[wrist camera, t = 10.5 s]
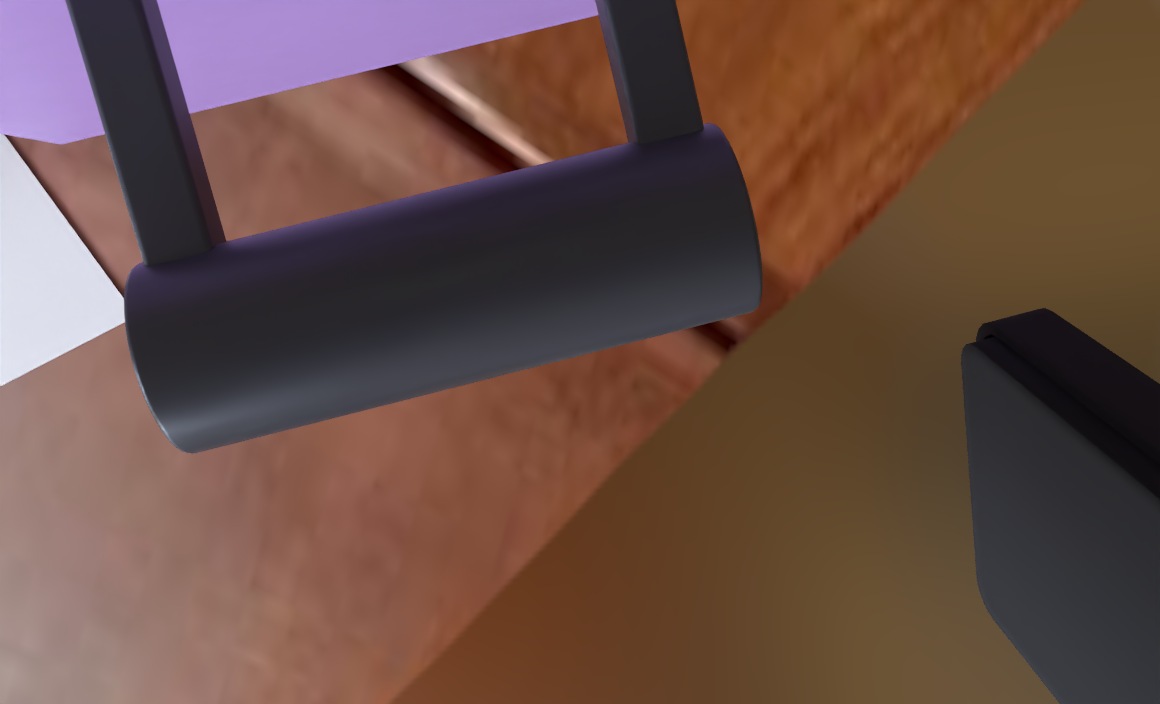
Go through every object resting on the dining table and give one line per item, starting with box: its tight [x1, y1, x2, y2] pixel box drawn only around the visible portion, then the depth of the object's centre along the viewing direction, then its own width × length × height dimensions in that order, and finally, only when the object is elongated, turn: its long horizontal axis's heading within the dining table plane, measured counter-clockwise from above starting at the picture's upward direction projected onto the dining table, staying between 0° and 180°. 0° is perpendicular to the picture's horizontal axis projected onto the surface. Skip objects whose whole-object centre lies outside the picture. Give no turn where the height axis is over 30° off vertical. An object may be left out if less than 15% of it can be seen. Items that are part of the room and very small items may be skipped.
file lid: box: [0, 0, 762, 453], centre depth 15 cm, size 13×15×6 cm
